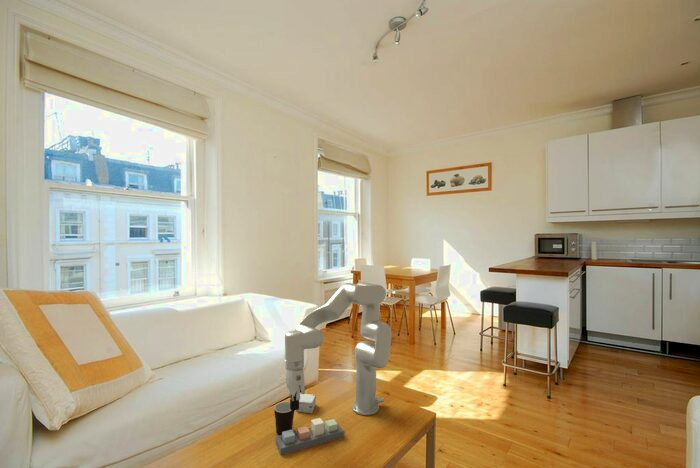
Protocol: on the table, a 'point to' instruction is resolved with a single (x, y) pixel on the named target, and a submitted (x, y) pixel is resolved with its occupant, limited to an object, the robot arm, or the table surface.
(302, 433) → the key terracotta
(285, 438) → the key slate
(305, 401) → the small box
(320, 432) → the key cream
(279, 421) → the coffee mug
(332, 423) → the key sage
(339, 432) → the keypad
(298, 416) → the table surface
